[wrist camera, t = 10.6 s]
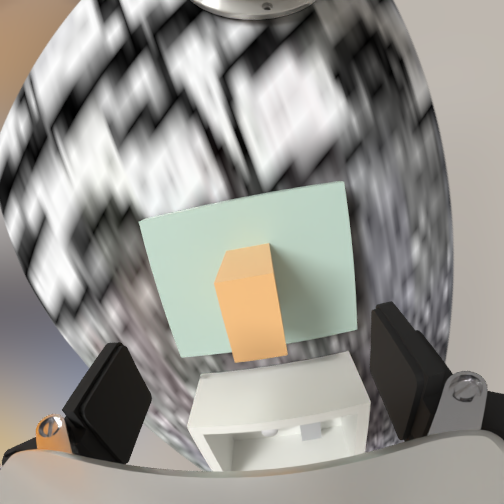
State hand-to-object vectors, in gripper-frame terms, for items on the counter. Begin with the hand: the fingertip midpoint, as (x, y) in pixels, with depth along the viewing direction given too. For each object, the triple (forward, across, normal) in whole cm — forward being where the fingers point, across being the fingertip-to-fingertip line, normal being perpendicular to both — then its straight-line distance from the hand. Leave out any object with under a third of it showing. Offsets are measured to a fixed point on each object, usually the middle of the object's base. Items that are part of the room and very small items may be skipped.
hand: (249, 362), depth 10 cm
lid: (+13, 0, +2) cm, 13 cm away
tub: (+12, 0, +17) cm, 21 cm away
